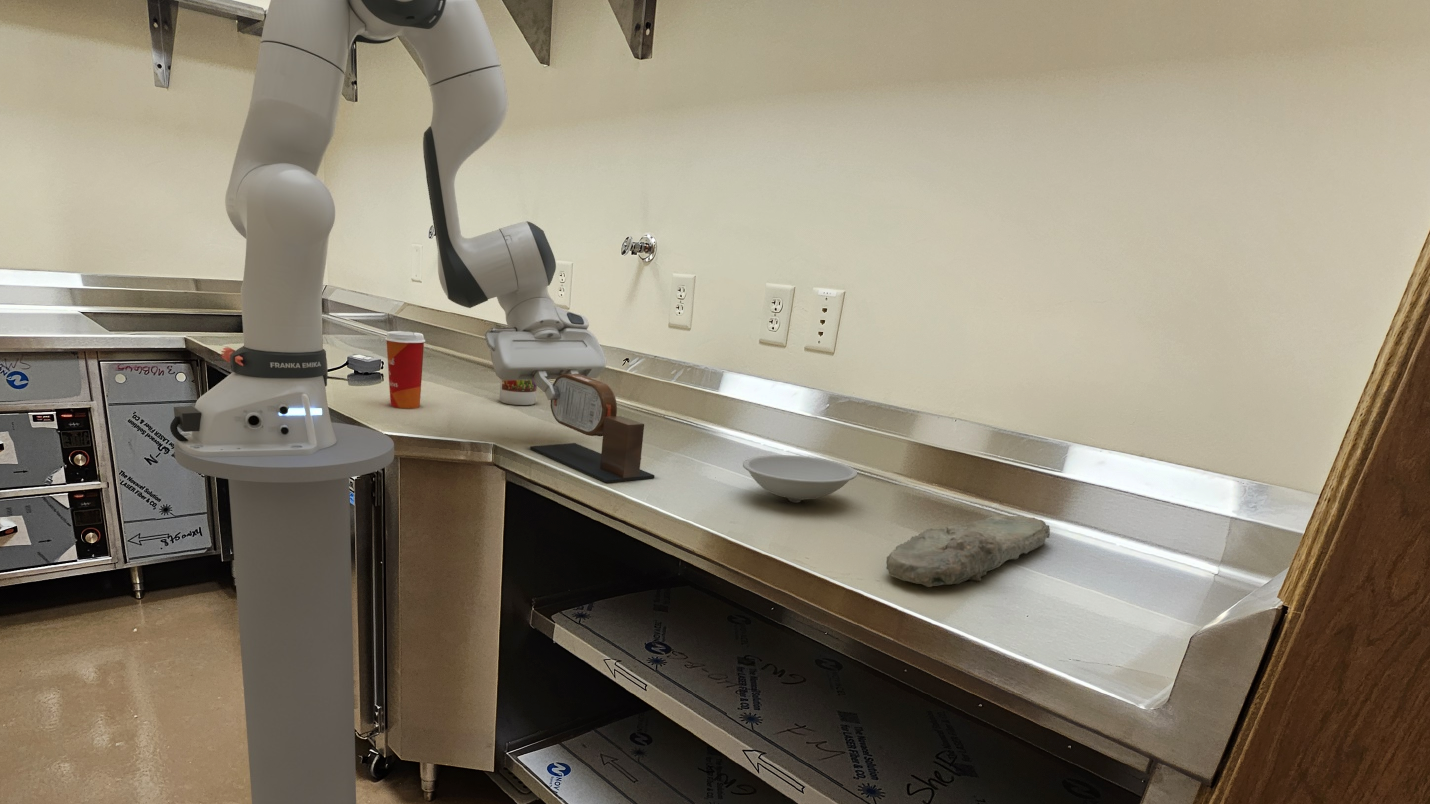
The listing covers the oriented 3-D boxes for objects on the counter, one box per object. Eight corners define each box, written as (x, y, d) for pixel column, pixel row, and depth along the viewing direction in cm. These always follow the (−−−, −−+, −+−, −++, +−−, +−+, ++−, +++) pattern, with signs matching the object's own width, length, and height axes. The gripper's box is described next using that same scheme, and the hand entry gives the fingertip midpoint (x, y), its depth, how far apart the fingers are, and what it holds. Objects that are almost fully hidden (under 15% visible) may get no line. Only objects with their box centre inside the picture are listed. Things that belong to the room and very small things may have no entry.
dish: (785, 521, 111) (791, 485, 110) (715, 492, 123) (720, 458, 121) (874, 509, 120) (881, 475, 119) (802, 483, 132) (807, 452, 130)
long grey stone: (1065, 556, 110) (989, 538, 117) (1074, 517, 109) (997, 501, 116) (948, 600, 87) (861, 574, 94) (958, 551, 85) (869, 528, 92)
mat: (606, 483, 122) (606, 480, 122) (529, 449, 139) (529, 446, 139) (654, 478, 127) (654, 475, 127) (574, 445, 144) (574, 442, 144)
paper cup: (391, 400, 169) (390, 329, 165) (428, 404, 169) (429, 332, 164) (380, 407, 162) (379, 333, 157) (419, 411, 162) (420, 336, 157)
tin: (612, 442, 130) (623, 387, 127) (596, 441, 128) (607, 386, 125) (558, 419, 141) (567, 369, 138) (543, 418, 139) (552, 367, 136)
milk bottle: (491, 400, 179) (495, 303, 172) (519, 398, 184) (524, 303, 177) (515, 407, 174) (520, 307, 167) (543, 404, 179) (548, 307, 172)
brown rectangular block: (623, 478, 124) (628, 424, 121) (599, 468, 128) (604, 416, 126) (639, 476, 126) (644, 423, 123) (615, 466, 130) (620, 415, 127)
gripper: (488, 315, 132) (516, 388, 128) (594, 317, 144) (623, 384, 140) (475, 340, 137) (501, 411, 133) (578, 340, 149) (605, 406, 145)
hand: (564, 397), depth 137 cm, fingers closed on tin, 2 cm apart
